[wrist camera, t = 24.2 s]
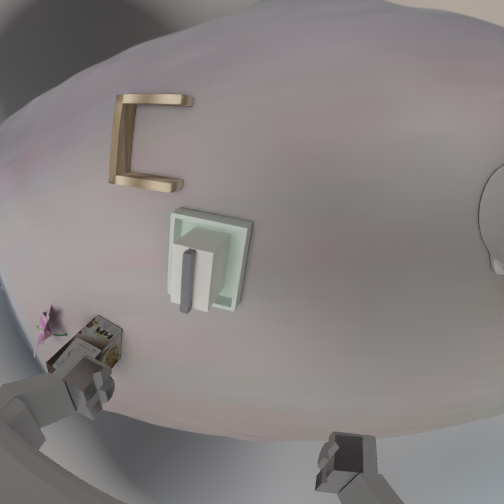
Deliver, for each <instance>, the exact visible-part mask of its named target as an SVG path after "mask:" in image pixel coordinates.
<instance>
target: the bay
mask: <svg viewBox="0 0 504 504" xmlns="http://www.w3.org/2000/svg"><path fill="white" fill-rule="evenodd" d="M192 104H193V98H192V97H188V96H185V95H174V94H126V95H117V96H116V103H115V111H114V120H113V129H112V140H111V153H110V169H109V183H112V184H119V185H125V186H132V187H138V188H144V189H150V190H156V191H162V192H168V193H172V192H174V191H177V190H179V189H182V183H183V180H181V179H175V178H168V177H162V176H155V175H148V174H141V173H133V172H130V161H131V149H132V138H133V129H134V120H135V112H136V105H173V106H191V107H192Z"/></svg>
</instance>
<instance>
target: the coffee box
mask: <svg viewBox="0 0 504 504" xmlns="http://www.w3.org/2000/svg"><path fill="white" fill-rule="evenodd" d="M121 338H122V329H121V328H120V327H118V326H116V325H114V324H113V323H111V322H109V321H108V320H106V319H104V318H102V317H101V316H99V315H98V316H96V317H95V318H94V319H93V320H92V321H91V322H90V323H88V324H87V325H86V326H85V327H84V328H83V329H82V330H81V331H80V332H79V333H77V334H76V335H75V336H74V337H73V338H72V339H71V340H70V341H69V342H68V343H67V344H65V345H64V346H63V347H62V348H61V349H60V350H59V351H58V352H57V353H56V354H55V355H54V356H53V357H52V358H50V359H49V360H48V361H47V362H46V365H47V368H48V372H50V373H51V374H52V373H53V372H54V371H55V370H56V369H57V368H58V367H59V366H60V365H61V364H63V363H64V362H65V361H66V360H67V359H68V358H69V357H70V356H71V355H72V354H73V353H74V352H75V351H78V350H79V351H81V352H83V353H85V354H87V355H89V356H90V357H92V358H94V359H96V360H98V361H100V362H102V363H104V364H106V365H108V366H110V367H111V369H112V367H113V366H114V365H115V364H116V363H117V361H118V360H119V359H120V357H121Z"/></svg>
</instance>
